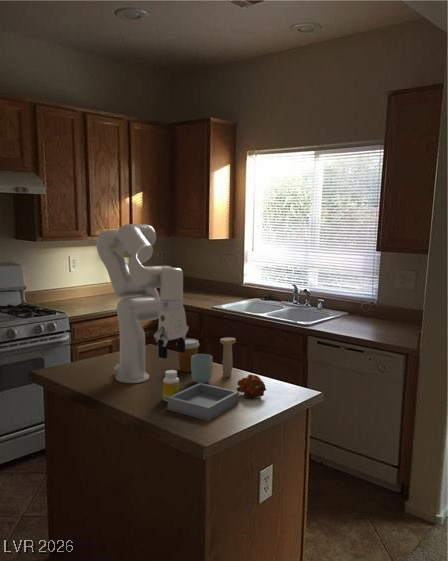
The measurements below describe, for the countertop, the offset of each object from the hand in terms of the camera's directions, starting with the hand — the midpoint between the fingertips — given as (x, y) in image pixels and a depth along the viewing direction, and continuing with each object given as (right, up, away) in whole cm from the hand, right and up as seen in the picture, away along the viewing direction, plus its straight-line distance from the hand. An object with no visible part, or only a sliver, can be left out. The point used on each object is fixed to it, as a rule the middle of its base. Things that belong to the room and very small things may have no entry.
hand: (172, 354), depth 168 cm
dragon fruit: (+27, -16, +6) cm, 32 cm away
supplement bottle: (-1, -16, +2) cm, 16 cm away
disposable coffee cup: (+3, -12, +37) cm, 39 cm away
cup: (+9, -14, +21) cm, 27 cm away
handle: (+19, -13, +29) cm, 37 cm away
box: (+11, -16, -4) cm, 20 cm away
